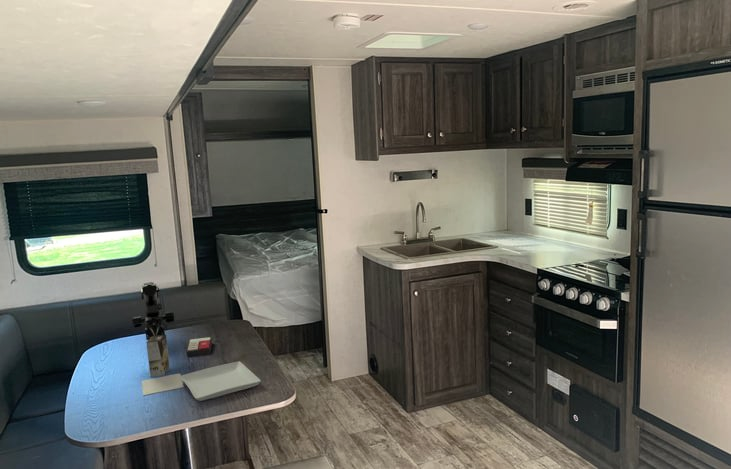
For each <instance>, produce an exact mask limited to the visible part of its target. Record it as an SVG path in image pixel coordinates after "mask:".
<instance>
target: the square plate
mask: <svg viewBox="0 0 731 469" xmlns="http://www.w3.org/2000/svg"><path fill="white" fill-rule="evenodd" d="M180 375H181V374H180ZM179 377H180V379H181V380H182V382H183V384H185V385H186V386H187V388H188V390H190V393H191V395H192V397H194V399H195V400H197V401H200V402H201V401H206V400H210V399H215V398H219V397H221V396H225V395H229V394H233V393H236V392H240V391H244V390H247V389H250V388H254V387H256V386H258V385H260V383H261V382H262V380H261V379H260V378H259V377H258V376H257V375H255V374H254V373H253V371H251V370H250V369H249V368H248V367H247V366H246V365H245V364H244V363H242V362H241V361H240V360H239V361H234V362H229V363H224V364H220V365H216V366H212V367H208V368H204V369H199V370H196V371H192V372H189V373H185V374H182V375H181V376H179Z"/></svg>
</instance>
